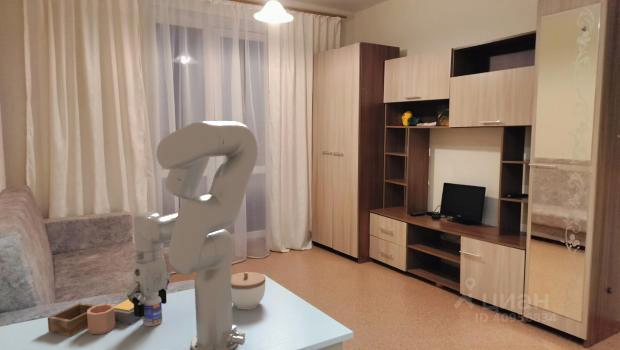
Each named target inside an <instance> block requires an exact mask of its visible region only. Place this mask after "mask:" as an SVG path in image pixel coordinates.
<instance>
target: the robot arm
mask: <svg viewBox="0 0 620 350" xmlns="http://www.w3.org/2000/svg"><path fill="white" fill-rule="evenodd" d="M258 152H259V151H258V144H257V139H256V137H255V135H254V133H253V131H252V130H251V129H250V127H248V126H247V125H245V124H243V123H241V122H237V121H228V120H223V121H222V120H220V121H217V120H216V121H215V120H214V121H213V120H212V121H211V120H202V121H201V120H200V121H195V122H191V123H190V124H187V125H185V126H183V127H181V128H179V129H177V130H175V131H172V132H171V133H169V134H167V135H165V136H164V137H163V138H162V139H161V140H160V141H159V143H158V145H157V147H156V153H155V155H156V159H157V160H156V161H157V162H158V164H159V165H160V166H161V167H162V168H164V169H166V170H169V171H168V174H167V177H166V180H165V182H164V183H165V184H164V185H165V188H166V190H167V191H168V192H169V193H170V194H172V195H173V196H175V197H178V198H179V199H182V201H181V205H180V207H179V210H178V211H177V212H174V213H169V214H165V215H160V213H158V212H154V211H153V212H151V211H150V212H149V211H147V212H141V213H137V214H136V215H135V216H134V217H133V235H134V237H133V238H134V240H133V241H134V256H133V258H134V260H135V261H134V263H133V264H134V265H133V270H132V271H133V272H132V286H131V288H130V289H129V290H128V291H127V293H126V297H127V298H129V301H131V302H132V304H134V316H137V317H142V318H143V317H144V304H142V302H143V300H144V298H145V296H150V295H152V294H154V293H156V292H157V291H158V293H159V294H158V296H159V297H160V298H161V304H162V305H165V304H167V303H168V302H167V290H169V289H168V288H169V287H168V285H169V284H170V279H171V278H170V277H171V273H170V272H168V271H167V264H166V259H165V256H164V255H163V244H164V243H168V242H170V243H169V247H168V261H169V265H170V267H171V269H172V270H173V271H174V272H175V273H177V274H178V275H183V276H187V275H192V274H195V273H196V274H195V278H194V304H195V324H196V325H195V326H196V327H195V328H196V335H195V336H194V337H193V338H192V339H191V342H190V346H191V350H234V349H235V348H236V347H237V346H244V345H245V342H246V338H245V337H246V333H245V332H238V331H237V330H238V329H237V325H235V324H234V322H233V321H234V320H233V303H232V291H231V275H232V265H233V257H234V251H235V242H234V239H233V238H234V237H232V235H231V233H230V232H229V231H228V230H227V229H229V228H230V227H233V226H234V225H235V224H236V222H237V221H238V219H239V214H240V212H241V209H242V205H243V202H244V198H245V195H246V191H247V187H248V185H249V181H250V178H251V177H252V174H253V171H254V169H255V166H256V163H257V159H258ZM224 156H225V158H224V160H223V161H222V163H221V164H220V165H219V167H218V168H217V169H216V172H215V173H214V175H213V181H212V184H211V186H210V189H209V191H208V192H207V193H205V194H202V195H198V193H197V191H198V188H199V186H200V185H201V180H202V179H203V176H204V174H205V171H206V168H207V166H208V163H209V161H210V159H211V158H213V157H224Z"/></svg>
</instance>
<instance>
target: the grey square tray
mask: <svg viewBox="0 0 620 350" xmlns="http://www.w3.org/2000/svg"><path fill="white" fill-rule="evenodd" d="M128 299H129V298H128V297H127V298H125V299H124V300H122V301H119V302H117V303H116V304H113V305H114V306H116V305H118V304H120V303H122V302H124V301H126V300H128ZM114 311H115V323H117V324H118V323H119V324H124V325H132V324H134V323H135V322H137V321H139V320H140V319H143V317H137V316H134V309H133V310H131V311H129V312H128V311H122V310H116V309H114Z"/></svg>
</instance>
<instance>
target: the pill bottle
mask: <svg viewBox="0 0 620 350" xmlns="http://www.w3.org/2000/svg"><path fill="white" fill-rule="evenodd" d="M158 294H159V293H158V291H157V292H156V293H154V294H152V295H150V296H145V298H144V300H143V302H142V304H144V317H142V323H143V325H144V326H148V327H154V326H157V325H159V324H161V323H162V322H163V310H162V309H163V308H162V305H163V304H162V303H161V298H160V297H159V296H158Z"/></svg>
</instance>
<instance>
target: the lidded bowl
mask: <svg viewBox="0 0 620 350" xmlns="http://www.w3.org/2000/svg"><path fill="white" fill-rule="evenodd" d="M265 289H266V276H265V275H264V274H263V273H259V272H257V271H256V272H255V271H245V272H243V271H242V272H238V273H234V274H231V291H232V305H234V306H235V307H236V309H238V310H242V309H243V310H244V311H245V310H247V309H248V310H252V309H255V308H257V307H258V305H259V304H260V303H261V301H263V298H264V295H265V291H266V290H265Z"/></svg>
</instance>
